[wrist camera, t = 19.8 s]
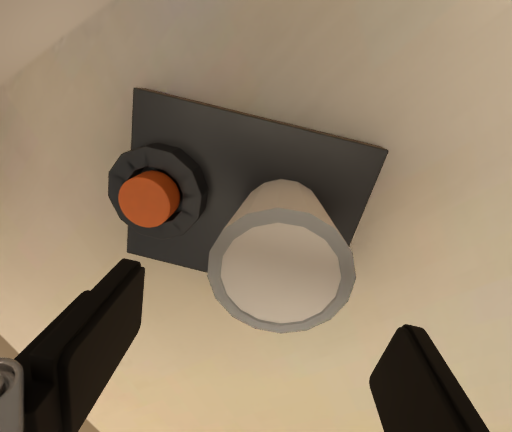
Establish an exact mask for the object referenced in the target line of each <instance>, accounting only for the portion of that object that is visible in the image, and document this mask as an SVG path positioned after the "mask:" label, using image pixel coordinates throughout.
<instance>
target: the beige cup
mask: <svg viewBox="0 0 512 432" xmlns="http://www.w3.org/2000/svg"><path fill="white" fill-rule="evenodd" d="M207 277H208V279H209V282H210V285H211V287H212V290H213V293H214V295H215V298H216V299H217V300H218V301H219V303H220V304H221V305H222V306H223V307H224V308H225V309H226V310H227V311H228V312H229V313H230V314H231V316H232V317H234V318H236V319H238V320H240V321H242V322H244V323H246V324H247V325H249V326H251V327H253V328H255V329H260V330H265V331H271V332H276V333H289V332H297V331H306V330H309V329H311V328H313V327H315V326H318V325H320V324H322V323H324V322H326V321H328V320H331V318H332V317H333V316H334V315H335V314H336V313H337V312H338V311H339V310H340V309H341V308H342V307H343V306H344V305H345V304H346V303H347V302H348V300H349V297H350V294H351V291H352V288H353V286H354V283H355V280H356V274H355V267H354V260H353V253H352V251H351V249H350V248H349V246H348V245H347V243H346V242H345V240H344V239H343V237H342V236H341V234H340V233H339V231H338V229H337V228H336V226H335V225H334V223H333V222H332V220H331V219H330V217H329V216H328V214H327V213H326V211H325V209H324V208H323V206H322V205H321V203H320V202H319V200H318V199H317V198H316V196H315V195H314V193H313V192H312V190H310V189H308V188H307V187H305V186H304V185H302V184H300V183H299V182H296V181H290V180H284V179H279V180H274V181H269V182H265V183H263V184H262V185H260V186H259V187H257V188H256V189H255V190H253V191H252V192H251V193H250V194H249V196H248V197H247V198H246V200H245V201H244V202H243V204H242V205H241V206H240V208H239V209H238V210H237V212H236V213H235V214H234V216H233V217H232V218H231V220H230V221H229V222H228V224H227V225H226V226H225V228H224V229H223V230H222V232H221V234H220V235H219V237H218V238H217V240H216V242H215V243H214V245H213V247H212V248H211V250H210V252H209V261H208V273H207Z"/></svg>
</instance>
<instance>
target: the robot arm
mask: <svg viewBox="0 0 512 432" xmlns="http://www.w3.org/2000/svg"><path fill="white" fill-rule="evenodd" d="M144 276H145V268H144V267H141V264H140V262H138V261H133V260H129V259H125V258H124V259H122V260H121V261H120V262H119V263H118V264H117V265H116V266H115V267H114V268H113V269H112V270H111V271H110V272H109V273H108V274H107V275H106V276H105V277H104V278H103V279H102V280H101V281H100V282H99V283H98V284H97V285H96V286H95V287H94V288H93V289H92V290H91V291H89V290H87V291H84V292H83V293H81V294H80V295H79V296H78V297H77V298H76V299H75V300H74V301H73V302H72V303H71V304H70V305H69V306H68V307H67V308H66V309H65V310H64V311H63V312H62V313H61V314H60V315H59V316H58V317H57V318H56V319H54V320H53V321H52V322H51V323H50V324H49V325H48V326H47V327H46V328H45V329H44V330H43V331H42V332H41V333H40V334H39V335H38V336H37V337H36V338H35V339H34V340H33V341H32V342H31V343H30V344H29V345H28V346H27V347H26V348H25V349H24V350H23V351H22V352H21V353H20V354H19V355H18V356H17V357H16V358H15V359H10V358H0V432H78V430H79V429H80V427H81V426H82V424H83V422H84V421H85V419H86V418H87V416H88V414H89V413H90V411H91V409H92V408H93V406H94V404H95V403H96V401H97V399H98V398H99V396H100V394H101V393H102V391H103V389H104V388H105V386H106V384H107V383H108V381H109V379H110V378H111V376H112V375H113V373H114V371H115V370H116V368H117V366H118V365H119V363H120V361H121V360H122V358H123V356H124V355H125V353H126V351H127V350H128V348H129V346H130V345H131V343H132V341H133V340H134V338H135V337H136V335H137V333H138V331H139V328H140V325H141V316H142V302H143V289H144ZM369 384H370V389H371V392H372V395H373V398H374V401H375V404H376V407H377V411H378V414H379V417H380V420H381V423H382V426H383V429H384V432H490V431H489V430H488V428H487V427H486V425H485V423H484V422H483V420H482V419H481V417H480V416H479V414H478V412H477V411H476V409H475V408H474V406H473V405H472V403H471V401H470V400H469V398H468V397H467V395H466V394H465V392H464V390H463V389H462V387H461V386H460V384H459V383H458V381H457V379H456V378H455V376H454V375H453V373H452V372H451V370H450V368H449V367H448V365H447V364H446V362H445V361H444V359H443V357H442V356H441V354H440V353H439V351H438V350H437V348H436V346H435V345H434V343H433V342H432V340H431V339H430V337H429V335H428V334H427V332H426V331H425V330H424V329H423V328H420V327H416V326H412V325H408V324H405V325H403V326H402V327H399V328H398V329H397V330H396V332H395V334H394V336H393V337H392V339H391V341H390V343H389V344H388V346H387V348H386V350H385V351H384V353H383V355H382V356H381V358H380V360H379V362H378V363H377V365H376V367H375V369H374V370H373V372H372V374H371V376H370V380H369Z"/></svg>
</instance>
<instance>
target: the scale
mask: <svg viewBox="0 0 512 432" xmlns="http://www.w3.org/2000/svg"><path fill="white" fill-rule="evenodd" d="M387 154H388V150H387V149H385V148H383V147H380V146H376V145H372V144H368V143H364V142H360V141H356V140H352V139H348V138H344V137H340V136H336V135H332V134H328V133H324V132H320V131H316V130H312V129H307V128H303V127H299V126H295V125H291V124H287V123H283V122H279V121H275V120H271V119H267V118H263V117H259V116H255V115H251V114H247V113H243V112H239V111H235V110H230V109H226V108H222V107H218V106H214V105H210V104H206V103H202V102H198V101H194V100H190V99H186V98H182V97H178V96H174V95H170V94H166V93H162V92H158V91H153V90H149V89H145V88H134V92H133V116H132V141H131V151H128V152H125V153H123V154H121V155H120V157H119V158H118V160H117V161H116V163H115V164H114V165H113V167H112V168H111V170H110V171H109V182H108V196H109V198H110V200H111V202H112V204H113V206H114V208H115V210H116V212H117V214H118V216H119V218H120V219H121V220H122V221H124V222H125V223H126V224H127V225H128V239H127V252H128V253H131V254H135V255H139V256H143V257H147V258H151V259H155V260H159V261H163V262H167V263H171V264H175V265H179V266H183V267H187V268H191V269H195V270H199V271H203V272H207V273H208V261H209V252H210V250H211V248H212V247H213V245H214V243H215V242H216V240H217V238H218V237H219V235H220V234H221V232H222V230H223V229H224V228H225V226H226V225H227V224H228V222H229V221H230V220H231V218H232V217H233V216H234V214H235V213H236V212H237V210H238V209H239V208H240V206H241V205H242V204H243V202H244V201H245V200H246V198H247V197H248V196H249V194H250V193H251V192H252V191H253V190H255V189H256V188H257V187H259V186H260V185H262V184H263V183H265V182H269V181H274V180H279V179H284V180H290V181H296V182H299V183H300V184H302V185H304V186H305V187H307V188H308V189H310V190H312V192H313V193H314V195H315V196H316V198H317V199H318V200H319V202H320V203H321V205H322V206H323V208H324V209H325V211H326V213H327V214H328V216H329V217H330V219H331V220H332V222H333V223H334V225H335V226H336V228H337V229H338V231H339V233H340V234H341V236H342V237H343V239H344V240H345V242H346V243H347V245H348V246H349V245H350V243H351V240H352V238H353V235H354V233H355V231H356V228H357V226H358V223H359V221H360V219H361V216H362V214H363V211H364V209H365V207H366V204H367V202H368V199H369V197H370V195H371V192H372V190H373V187H374V185H375V183H376V180H377V178H378V175H379V173H380V171H381V168H382V166H383V163H384V161H385V159H386V156H387ZM151 170H153V171H159V172H162V173H164V174H166V175H168V176H169V177H170V178H171V179H172V180H173V181H174V182H175V183H176V185H177V187H178V189H179V192H180V204H179V206H178V208H177V210H176V211H175V212H174V213H173V214H172V215H171V216H170V217H169V218H168V219H167V220H166V221H165V222H164V223H163V224H161V225H159V226H157V227H151V228H147V227H142V226H139V225H136V224H135V223H133V222H132V221H130V220H129V219H128V218H127V217H126V216H125V215H124V213H123V212H122V210H121V208H120V205H119V200H118V196H119V191H120V188H121V186H122V185H123V184H124V183H125V182H126V181H127V180H129V179H131V178H133V177H135V176H137V175H139V174H141V173H143V172H145V171H151Z"/></svg>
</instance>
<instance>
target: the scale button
mask: <svg viewBox="0 0 512 432" xmlns="http://www.w3.org/2000/svg"><path fill="white" fill-rule="evenodd" d="M118 200H119V205H120V208H121V210H122V212H123V213H124V215H125V216H126V217H127V218H128V219H129V220H130V221H132V222H133V223H135V224H136V225H139V226H142V227H147V228H151V227H157V226H159V225H161V224H163V223H164V222H165V221H166V220H167V219H168V218H169V217H170V216H171V215H172V214H173V213H174V212H175V211H176V210H177V208H178V206H179V204H180V192H179V189H178V187H177V185H176V183H175V182H174V181H173V180H172V179H171V178H170V177H169V176H168V175H166V174H164V173H162V172H159V171H153V170H151V171H145V172H143V173H141V174H139V175H137V176H135V177H133V178H131V179H129V180H127V181H126V182H125V183H124V184H123V185H122V186H121V188H120V191H119V196H118Z"/></svg>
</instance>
